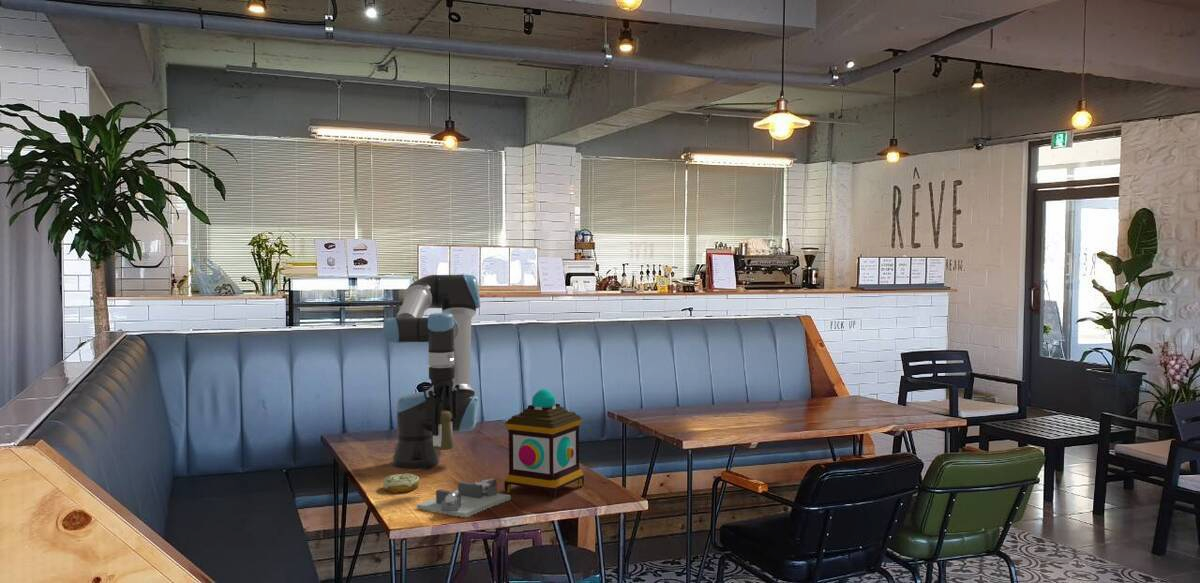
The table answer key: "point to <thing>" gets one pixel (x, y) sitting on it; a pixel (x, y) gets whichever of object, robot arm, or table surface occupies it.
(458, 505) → the shaft
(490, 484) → the shaft
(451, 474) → the table surface
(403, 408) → the robot arm
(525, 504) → the table surface
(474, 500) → the rig
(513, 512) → the table surface
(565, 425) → the decorative lantern
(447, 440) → the cork
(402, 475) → the decorated donut
